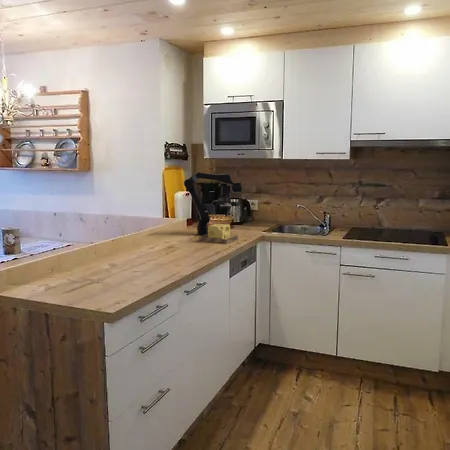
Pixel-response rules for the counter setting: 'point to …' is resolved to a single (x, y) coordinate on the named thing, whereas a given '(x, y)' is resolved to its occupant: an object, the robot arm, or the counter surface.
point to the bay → (217, 239)
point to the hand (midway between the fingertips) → (226, 216)
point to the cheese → (219, 231)
